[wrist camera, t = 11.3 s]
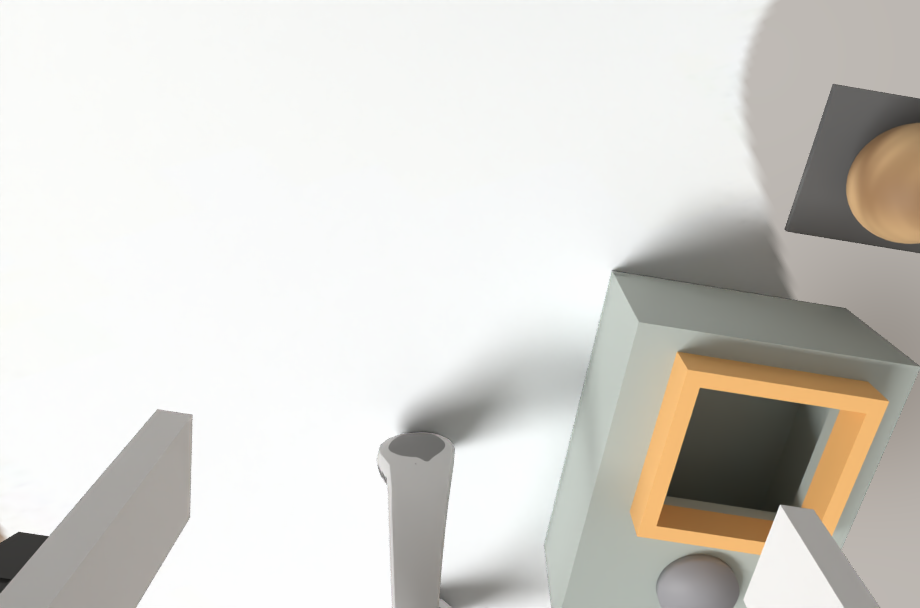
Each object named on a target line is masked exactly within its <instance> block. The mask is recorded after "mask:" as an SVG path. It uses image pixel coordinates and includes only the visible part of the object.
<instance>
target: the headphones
mask: <svg viewBox="0 0 920 608" xmlns="http://www.w3.org/2000/svg"><path fill="white" fill-rule="evenodd" d="M454 453H455V448H454V446H453V443H452V442H451V441H450V440H449V439H448V438H446V437H443V436H440V435H438V434H434V433H427V432H415V433H404V434H400V435H397V436H394V437H392V438H389V439H387V440H386V441H385V442H383V443H382V444H381V445H380V448H379V451H378V455H377V466H378V469H379V472H380V475H381V477H382V479H383V480H384V482H385V483H386V485H387V489H388V512H389V542H390V570H391V596H392V608H452V607H451V606H450V605H448V604H447V603H446V602H445V601H444V600H442V599H439V597H440V582H441V568H442V557H443V547H444V537H445V527H446V518H447V510H448V501H449V494H450V486H451V479H452V472H453V466H454Z"/></svg>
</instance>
